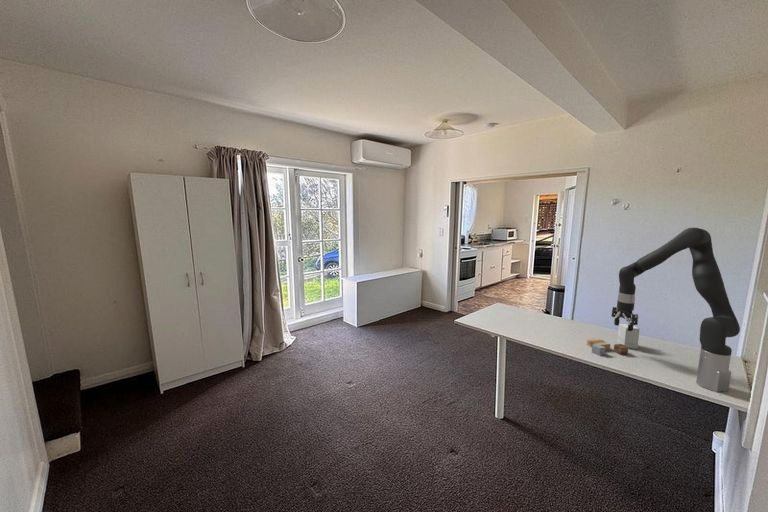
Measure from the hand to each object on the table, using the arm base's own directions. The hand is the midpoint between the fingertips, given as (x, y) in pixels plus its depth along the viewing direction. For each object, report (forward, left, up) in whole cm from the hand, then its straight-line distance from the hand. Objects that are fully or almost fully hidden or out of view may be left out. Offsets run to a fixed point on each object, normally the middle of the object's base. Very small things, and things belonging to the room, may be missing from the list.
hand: (623, 328), depth 169 cm
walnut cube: (0, 0, -15) cm, 15 cm away
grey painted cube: (+1, +13, -15) cm, 20 cm away
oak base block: (+8, +7, -15) cm, 19 cm away
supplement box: (+8, -12, -15) cm, 21 cm away
